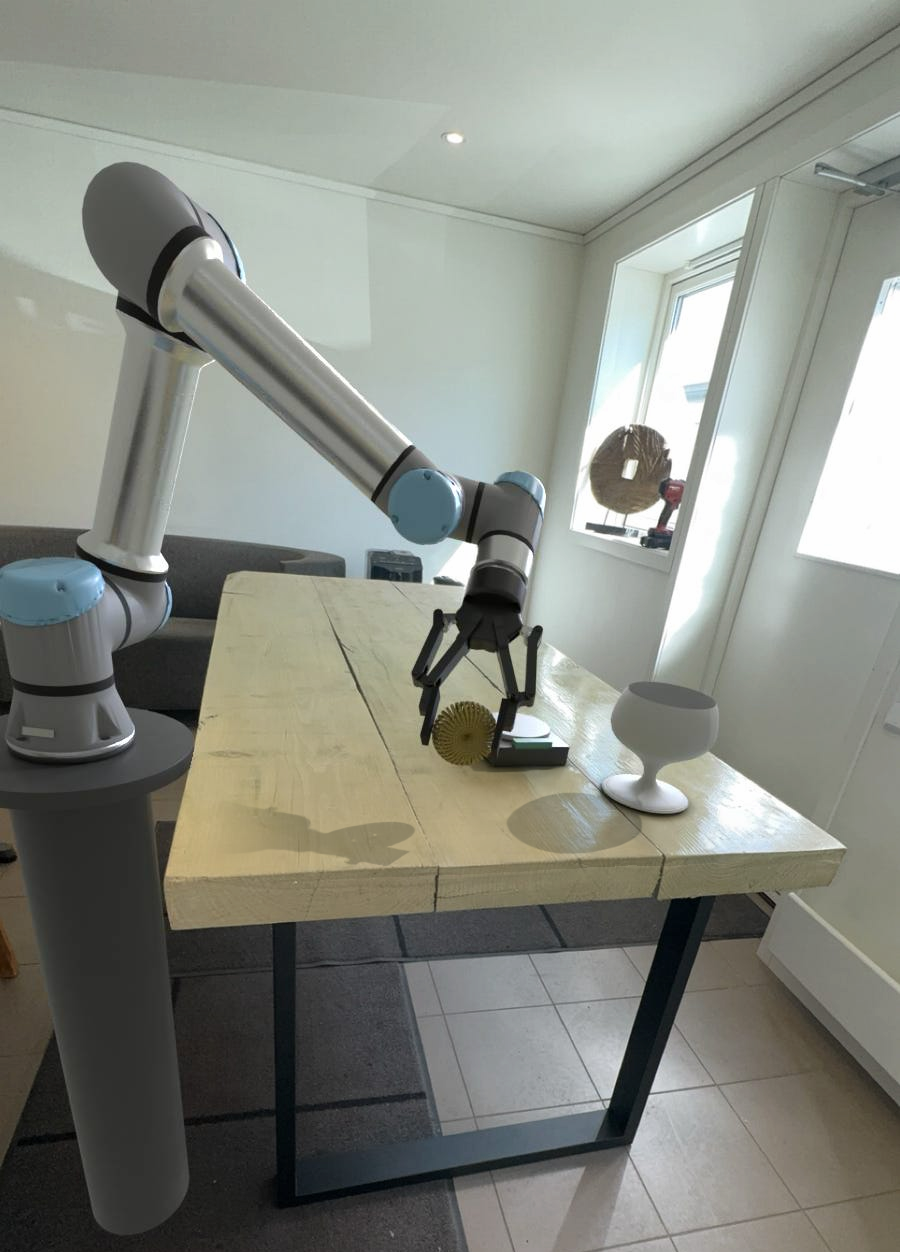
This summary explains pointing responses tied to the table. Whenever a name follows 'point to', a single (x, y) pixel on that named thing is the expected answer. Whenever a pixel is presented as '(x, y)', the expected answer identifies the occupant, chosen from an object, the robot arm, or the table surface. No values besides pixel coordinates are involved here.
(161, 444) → the robot arm
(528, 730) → the scale
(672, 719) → the chalice
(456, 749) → the sculpture
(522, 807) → the table surface
